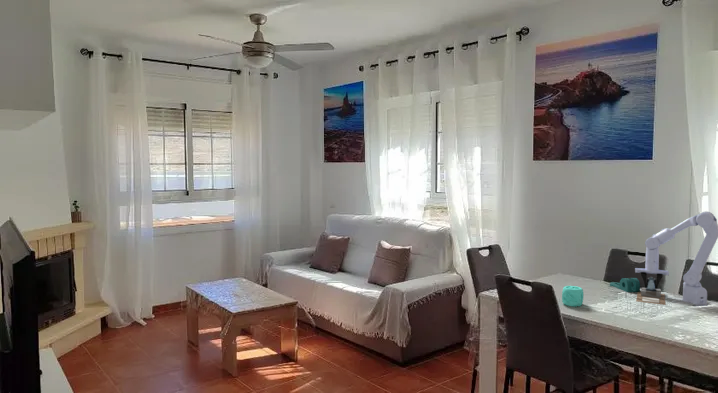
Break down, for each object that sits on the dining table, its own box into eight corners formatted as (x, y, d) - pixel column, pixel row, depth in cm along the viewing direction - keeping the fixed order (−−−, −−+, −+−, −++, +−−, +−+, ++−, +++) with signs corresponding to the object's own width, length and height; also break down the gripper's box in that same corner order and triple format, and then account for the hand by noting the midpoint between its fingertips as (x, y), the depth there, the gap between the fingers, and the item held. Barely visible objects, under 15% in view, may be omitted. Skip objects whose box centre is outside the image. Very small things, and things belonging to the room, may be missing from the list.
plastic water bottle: (657, 295, 253) (658, 278, 252) (650, 296, 252) (651, 278, 252) (651, 293, 257) (651, 276, 256) (644, 294, 256) (645, 276, 255)
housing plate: (637, 293, 262) (637, 286, 262) (664, 296, 256) (664, 289, 256) (636, 303, 243) (636, 296, 243) (665, 306, 237) (665, 299, 237)
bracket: (639, 294, 261) (640, 279, 260) (627, 295, 260) (627, 279, 260) (618, 286, 279) (619, 272, 278) (607, 286, 278) (607, 272, 277)
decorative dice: (579, 307, 237) (580, 290, 236) (561, 304, 241) (562, 288, 241) (583, 303, 243) (583, 287, 243) (565, 301, 248) (566, 284, 247)
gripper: (668, 261, 253) (667, 288, 254) (635, 258, 260) (634, 284, 261) (669, 263, 247) (668, 291, 248) (635, 260, 254) (634, 287, 255)
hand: (651, 288), depth 254 cm, fingers closed on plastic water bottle, 4 cm apart
